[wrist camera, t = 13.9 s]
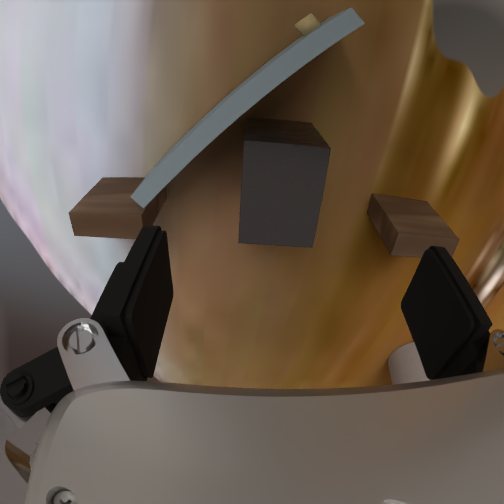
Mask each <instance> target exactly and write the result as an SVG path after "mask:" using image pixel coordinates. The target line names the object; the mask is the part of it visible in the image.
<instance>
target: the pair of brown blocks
mask: <svg viewBox="0 0 504 504" xmlns="http://www.w3.org/2000/svg"><path fill="white" fill-rule="evenodd" d="M144 179H145V178H102V179H101V180H100V181H99V182H98V183H97V184H96V185H95V186H94V187H93V188H92V189H91V190H90V191H89V192H88V193H87V194H86V195H85V196H84V197H83V198H82V199H81V200H80V201H79V203H78V204H77V205H76V206H75V207H74V208H73V209H72V210H71V211H70V212H69V216H70V220H71V224H72V228H73V232H74V236H89V237H107V238H124V239H136V238H137V236H138V234H139V233H140V231H141V229H142V227H143V226H152V225H153V223H154V221H155V219H156V217H157V215H158V213H159V211H160V210H161V208H162V206H163V204H164V202H165V200H166V186H165V187H164V188H163V189H162V190H161V191H160V192H159V193H158V194H157V195H156V196H155V197H154V198H153V199H152V200H151V201H150V202H149V203H148V204H147V205H146V206H145V207H144V208H142V207H141V206H140V205H139V204H138V203H137V202H136V201H134V200H133V199H132V198H131V196H132V194H133V193H134V192H135V190H136V189H137V188H138V186H139V185H140V184H141V182H142V181H143V180H144ZM367 214H368V216H369V217H370V219H371V221H372V223H373V224H374V226H375V228H376V230H377V231H378V233H379V235H380V237H381V239H382V240H383V242H384V244H385V246H386V248H387V250H388V251H389V253H390V255H391V256H406V257H420V258H422V256H423V254H424V252H425V250H427V249H428V248H429V247H430V246H440V247H445V248H446V250H447V251H448V252H449V254H450V255H451V257H452V255H453V253H454V251H455V249H456V246H457V244H458V242H459V238H458V237H457V236H456V235H455V233H454V232H453V231H452V230H451V229H450V227H449V226H448V225H447V224H446V223H445V222H444V220H443V219H442V218H441V217H440V216H439V215H438V213H437V212H436V211H435V210H434V209H433V208H432V207H431V206H430V204H429V203H428V202H426V201H420V200H414V199H407V198H401V197H394V196H387V195H379V194H372V196H371V200H370V204H369V208H368V211H367Z"/></svg>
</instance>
